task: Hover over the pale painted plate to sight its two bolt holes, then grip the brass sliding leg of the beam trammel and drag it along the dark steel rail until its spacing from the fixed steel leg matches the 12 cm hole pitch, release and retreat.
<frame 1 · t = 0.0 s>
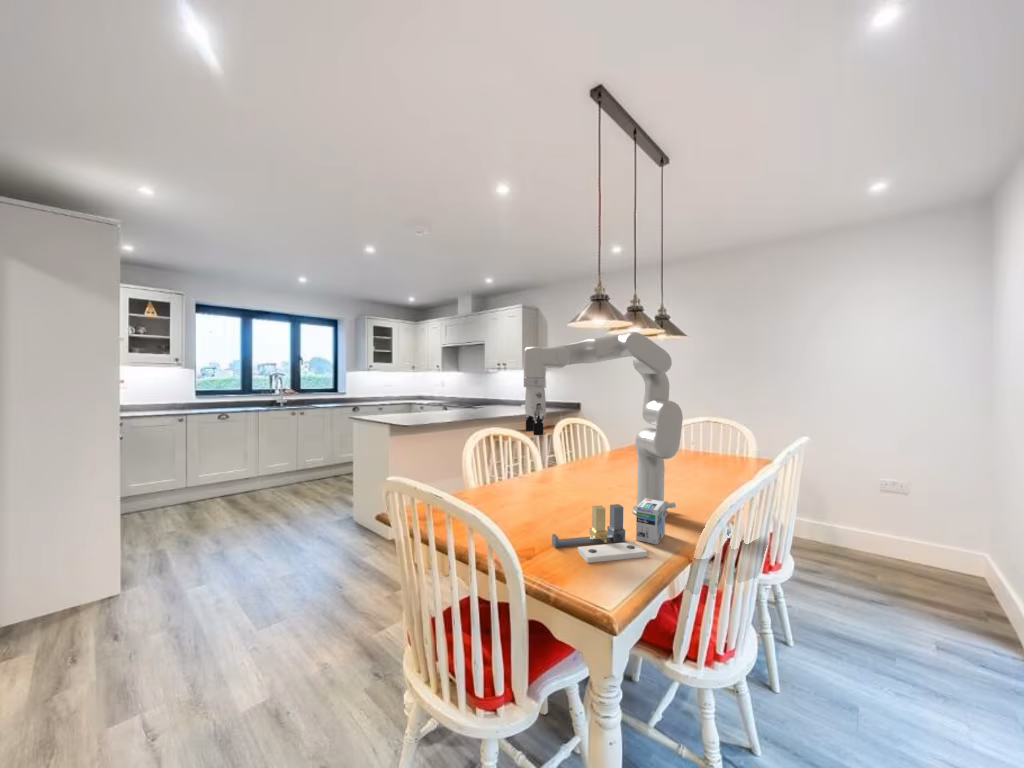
hand: (534, 432, 146), 31 cm above the table, tool pointing down, fingers open, 9 cm apart
hole plate: (611, 554, 122), on the table
sliding leg: (600, 523, 129), point 6 cm above the table, slide at 6.0 cm
light bulb box: (650, 537, 135), on the table
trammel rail: (589, 542, 130), on the table
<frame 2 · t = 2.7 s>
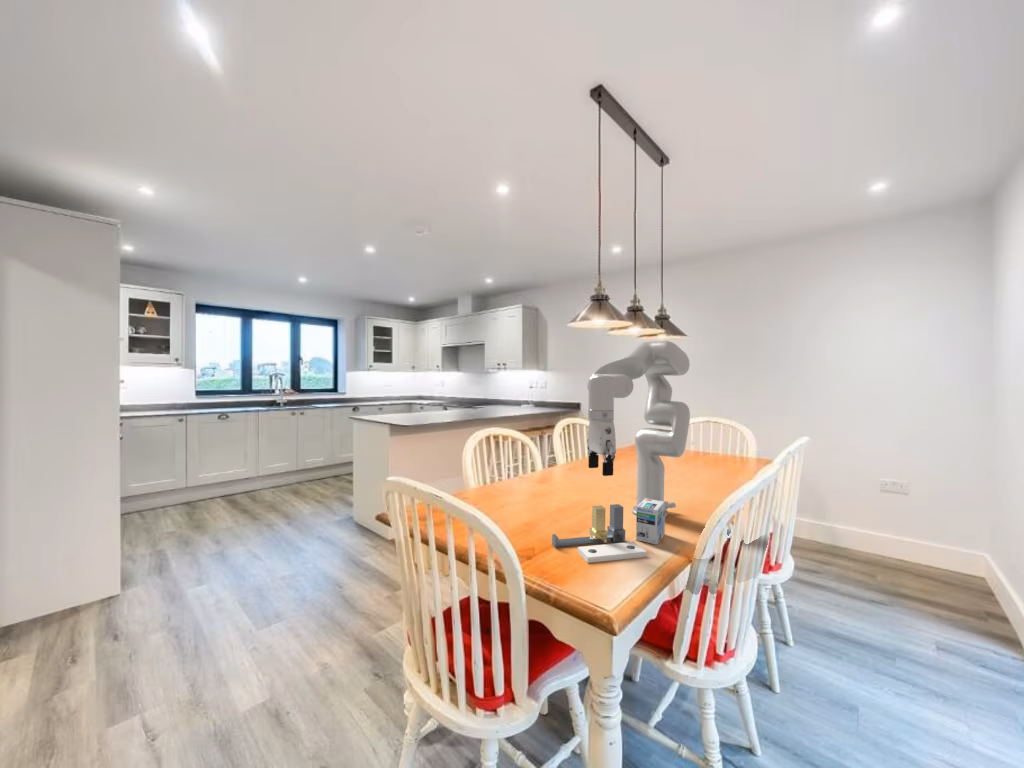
hand: (600, 471, 129), 22 cm above the table, tool pointing down, fingers open, 9 cm apart
nothing on the table moved.
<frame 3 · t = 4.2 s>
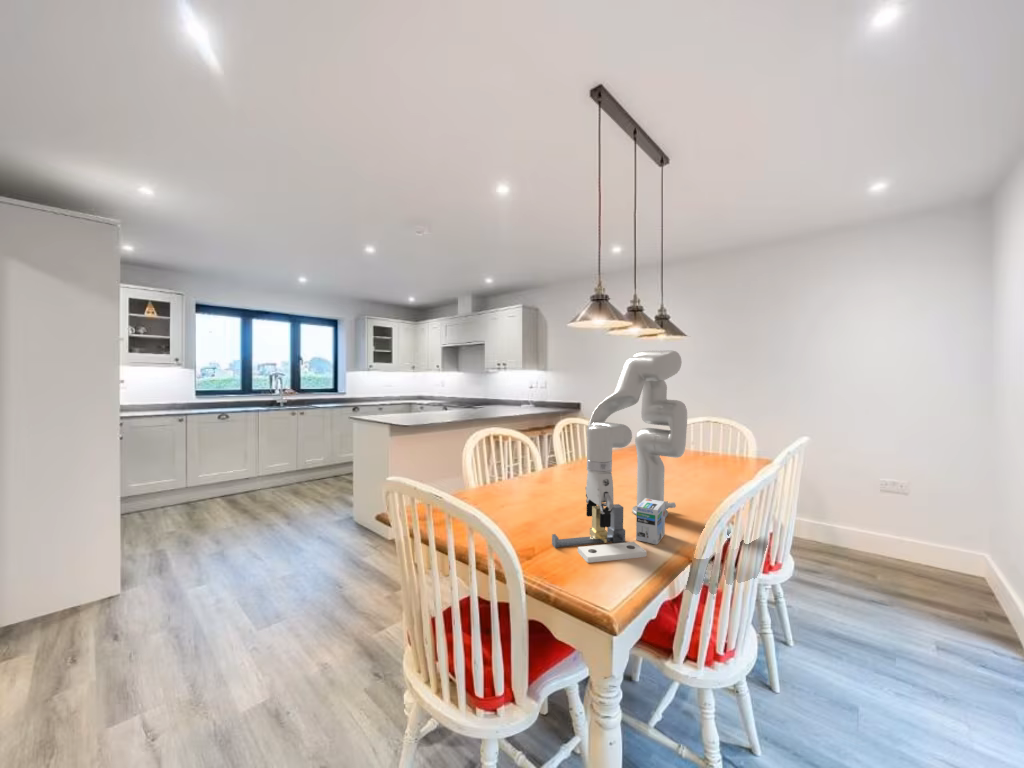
hand: (598, 521, 130), 7 cm above the table, tool pointing down, fingers open, 9 cm apart
nothing on the table moved.
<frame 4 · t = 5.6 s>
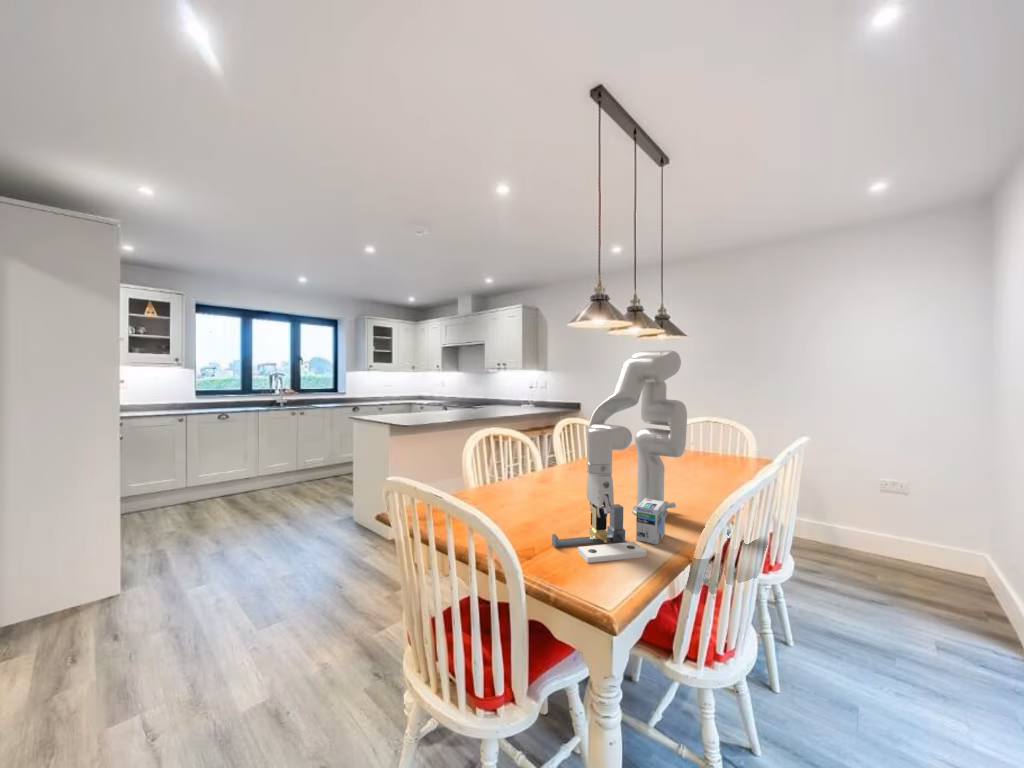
hand: (598, 526, 131), 5 cm above the table, tool pointing down, fingers closed on sliding leg, 3 cm apart
sliding leg: (600, 523, 129), point 6 cm above the table, slide at 6.0 cm, touching gripper
everything else where it was.
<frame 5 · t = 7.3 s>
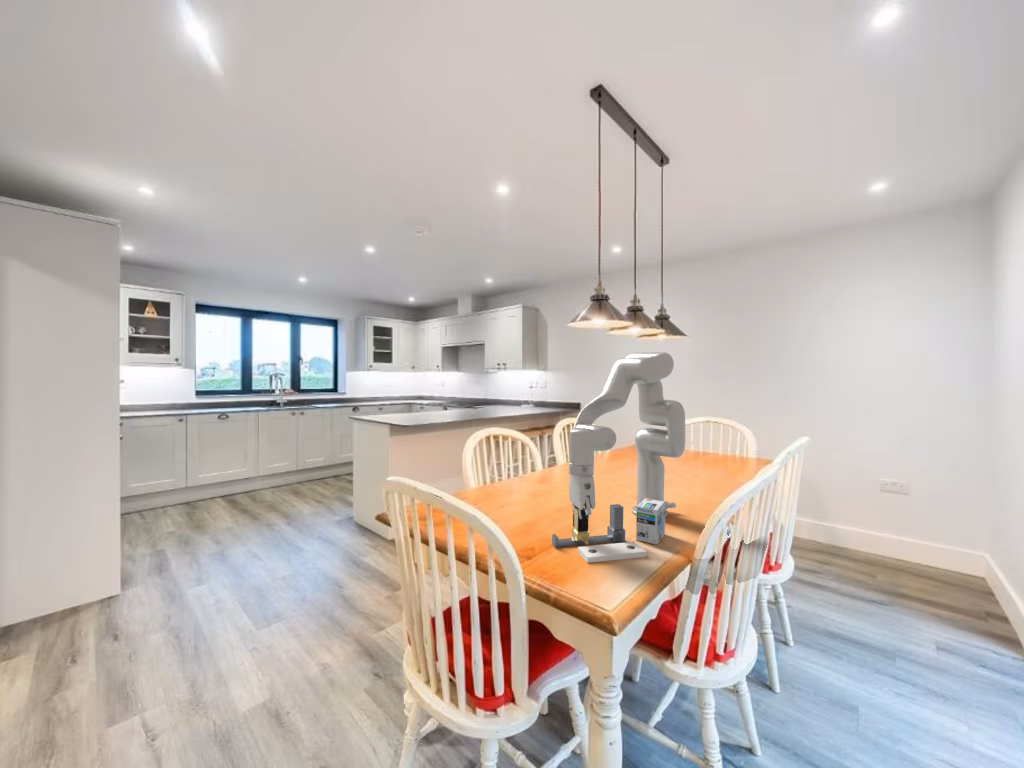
hand: (580, 528, 129), 5 cm above the table, tool pointing down, fingers closed on sliding leg, 3 cm apart
sliding leg: (582, 524, 128), point 6 cm above the table, slide at 11.9 cm, touching gripper
everything else where it was.
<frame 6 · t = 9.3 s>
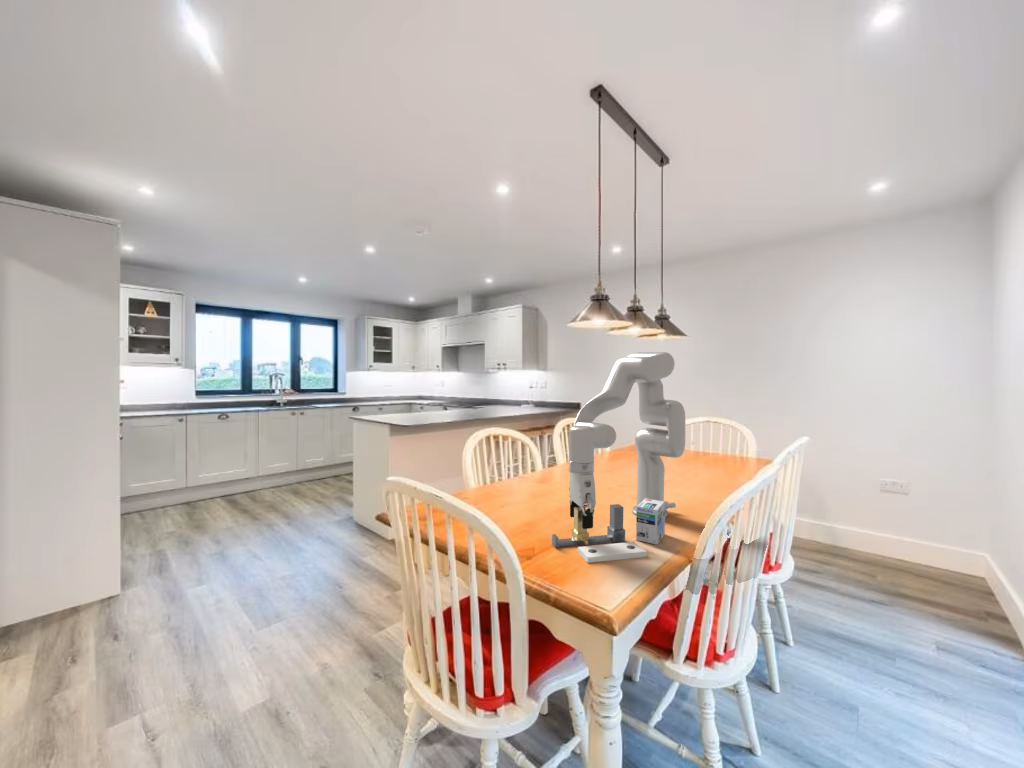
hand: (581, 522, 129), 6 cm above the table, tool pointing down, fingers open, 9 cm apart
sliding leg: (582, 524, 128), point 6 cm above the table, slide at 12.0 cm
everything else where it was.
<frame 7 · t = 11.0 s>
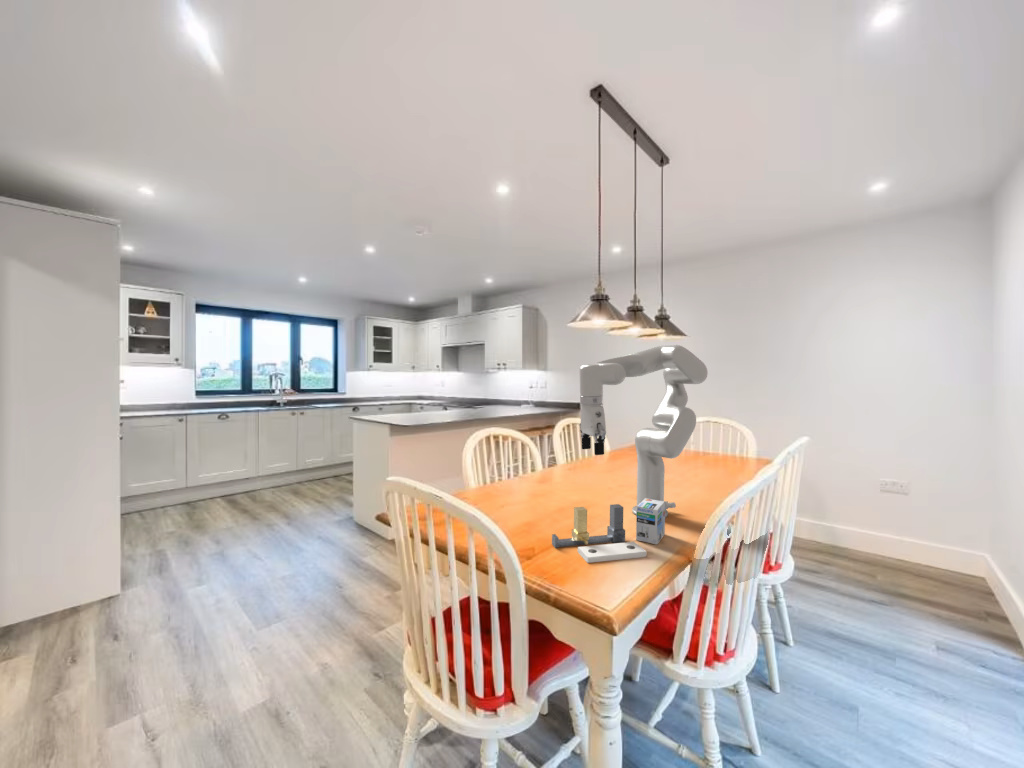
hand: (592, 451, 143), 25 cm above the table, tool pointing down, fingers open, 9 cm apart
nothing on the table moved.
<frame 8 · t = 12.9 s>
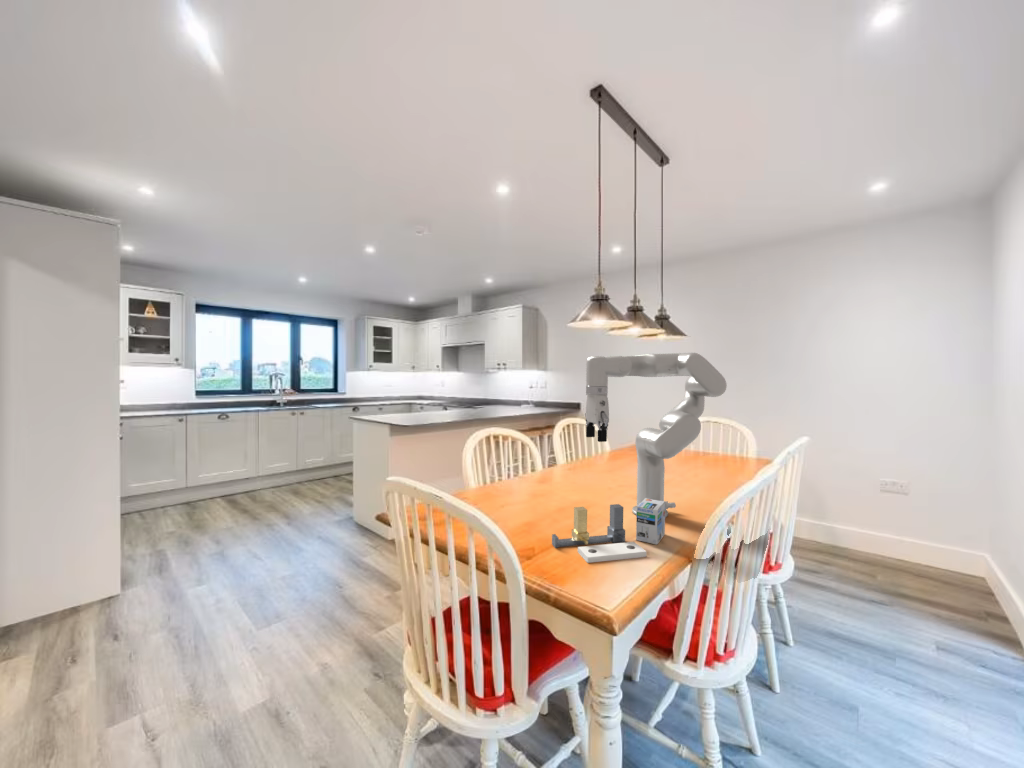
hand: (596, 439, 151), 28 cm above the table, tool pointing down, fingers open, 9 cm apart
nothing on the table moved.
at the end: sliding leg slide at 12.0 cm; the gripper is holding nothing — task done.
